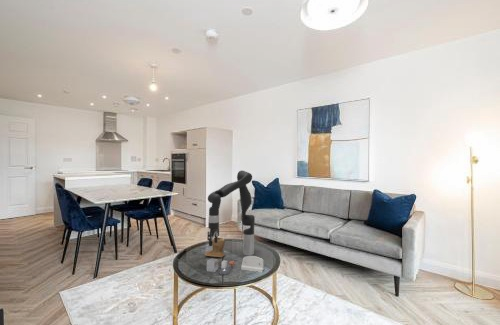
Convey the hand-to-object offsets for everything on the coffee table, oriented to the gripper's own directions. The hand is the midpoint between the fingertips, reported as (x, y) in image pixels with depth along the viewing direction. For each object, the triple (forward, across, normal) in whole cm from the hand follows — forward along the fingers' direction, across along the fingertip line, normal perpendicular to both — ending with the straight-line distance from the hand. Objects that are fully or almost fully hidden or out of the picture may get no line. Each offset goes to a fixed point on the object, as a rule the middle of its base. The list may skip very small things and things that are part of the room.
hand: (213, 244), depth 171 cm
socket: (+18, 0, 0) cm, 18 cm away
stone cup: (+18, +28, +11) cm, 35 cm away
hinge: (+19, +12, -26) cm, 34 cm away
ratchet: (+18, +5, -10) cm, 21 cm away
